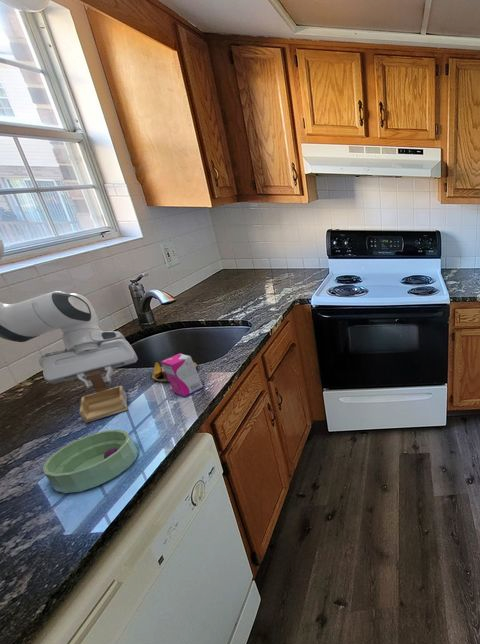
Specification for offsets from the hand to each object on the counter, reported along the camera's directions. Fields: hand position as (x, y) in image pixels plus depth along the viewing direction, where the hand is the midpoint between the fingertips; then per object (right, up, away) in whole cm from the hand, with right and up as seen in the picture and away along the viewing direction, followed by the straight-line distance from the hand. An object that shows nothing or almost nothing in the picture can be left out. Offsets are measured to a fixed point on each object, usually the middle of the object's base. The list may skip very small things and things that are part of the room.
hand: (99, 385), depth 106 cm
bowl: (+22, -16, -23) cm, 36 cm away
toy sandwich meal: (+11, +1, +16) cm, 20 cm away
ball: (+24, -14, -22) cm, 35 cm away
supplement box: (+22, -3, +6) cm, 23 cm away
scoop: (+3, -6, -1) cm, 7 cm away
